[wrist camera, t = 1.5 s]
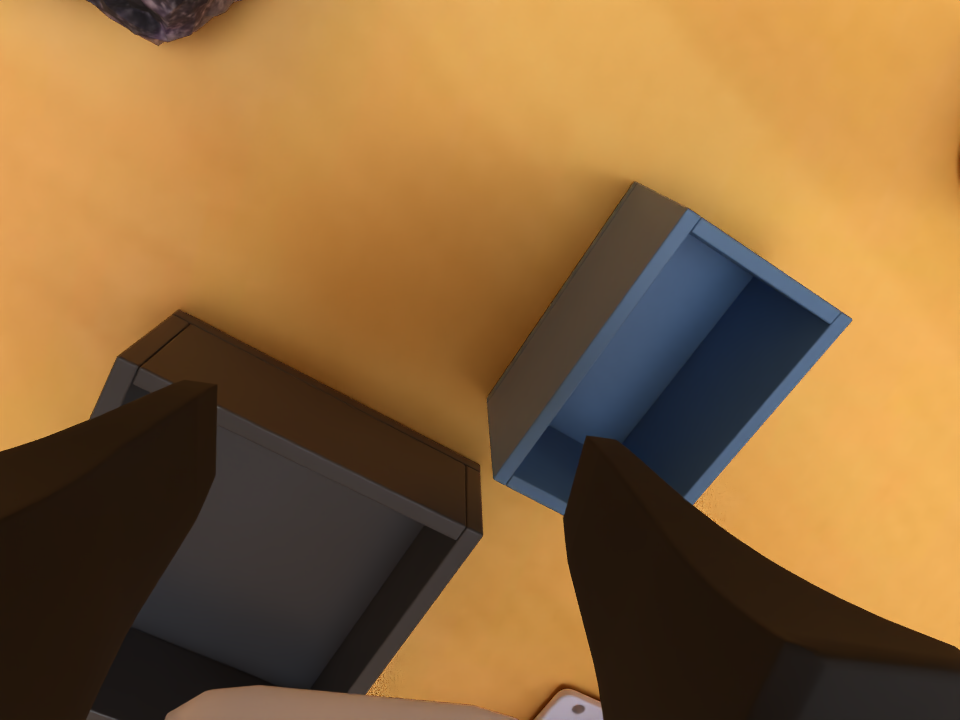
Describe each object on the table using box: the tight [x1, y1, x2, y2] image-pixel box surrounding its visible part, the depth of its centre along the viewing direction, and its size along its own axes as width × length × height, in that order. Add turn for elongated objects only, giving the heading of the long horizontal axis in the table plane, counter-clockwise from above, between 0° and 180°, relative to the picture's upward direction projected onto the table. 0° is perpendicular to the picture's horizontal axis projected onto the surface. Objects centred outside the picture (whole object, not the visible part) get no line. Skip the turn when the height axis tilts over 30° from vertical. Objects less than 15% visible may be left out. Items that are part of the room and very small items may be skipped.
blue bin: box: [487, 182, 852, 515], centre depth 19 cm, size 8×5×5 cm, turn 148°
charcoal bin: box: [86, 310, 483, 720], centre depth 22 cm, size 11×13×4 cm
